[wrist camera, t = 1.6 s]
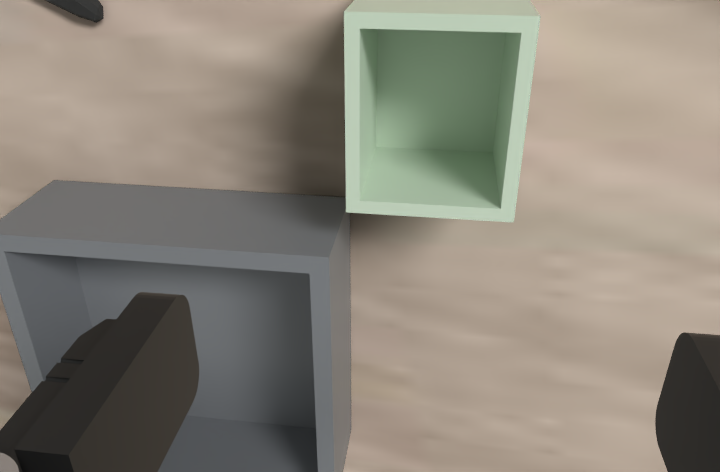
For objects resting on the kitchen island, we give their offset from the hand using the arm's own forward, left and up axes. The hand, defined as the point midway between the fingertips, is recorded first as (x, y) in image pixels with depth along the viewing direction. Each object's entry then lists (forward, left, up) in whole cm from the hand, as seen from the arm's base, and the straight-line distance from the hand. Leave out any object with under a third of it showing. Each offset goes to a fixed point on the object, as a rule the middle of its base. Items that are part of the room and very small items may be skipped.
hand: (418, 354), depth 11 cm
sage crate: (0, 0, -18) cm, 18 cm away
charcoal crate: (-1, -17, -18) cm, 25 cm away
